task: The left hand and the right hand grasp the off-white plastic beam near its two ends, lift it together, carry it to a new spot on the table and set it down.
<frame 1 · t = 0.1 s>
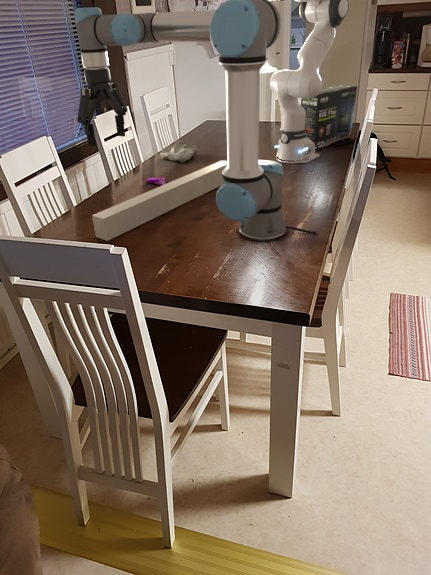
left hand: (107, 140, 148), 28 cm above the table, tool pointing down, fingers open, 13 cm apart
right hand: (246, 53, 179), 48 cm above the table, tool pointing down, fingers open, 8 cm apart
fossil: (178, 158, 230), on the table
beam: (173, 204, 174), on the table
router box: (325, 143, 245), on the table
handgun: (158, 187, 192), on the table
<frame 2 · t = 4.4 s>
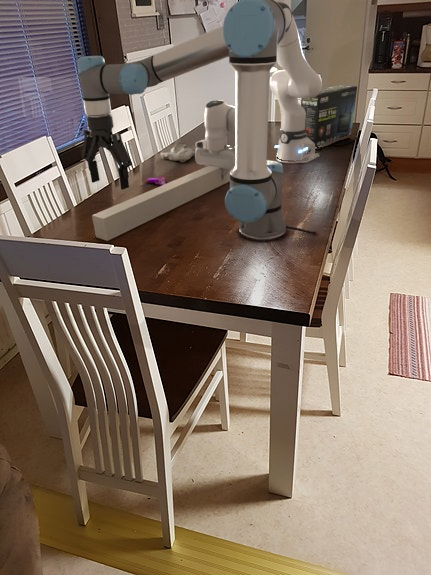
left hand: (110, 184, 146), 16 cm above the table, tool pointing down, fingers open, 13 cm apart
right hand: (217, 177, 192), 3 cm above the table, tool pointing down, fingers closed on beam, 5 cm apart
beam: (173, 204, 174), on the table, touching right hand
everything else where it was.
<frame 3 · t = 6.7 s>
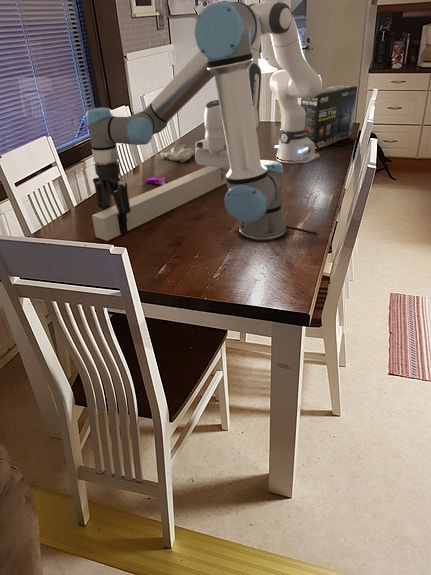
left hand: (117, 230, 154), 1 cm above the table, tool pointing down, fingers closed on beam, 6 cm apart
right hand: (217, 177, 192), 3 cm above the table, tool pointing down, fingers closed on beam, 5 cm apart
beam: (173, 204, 174), on the table, touching left hand, right hand
everything else where it was.
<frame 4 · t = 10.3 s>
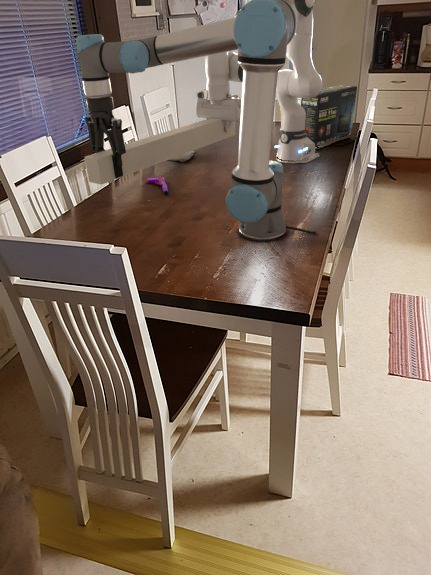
left hand: (112, 175, 143), 20 cm above the table, tool pointing down, fingers closed on beam, 6 cm apart
right hand: (219, 130, 182), 22 cm above the table, tool pointing down, fingers closed on beam, 5 cm apart
beam: (172, 155, 163), point 19 cm above the table, touching left hand, right hand
everything else where it was.
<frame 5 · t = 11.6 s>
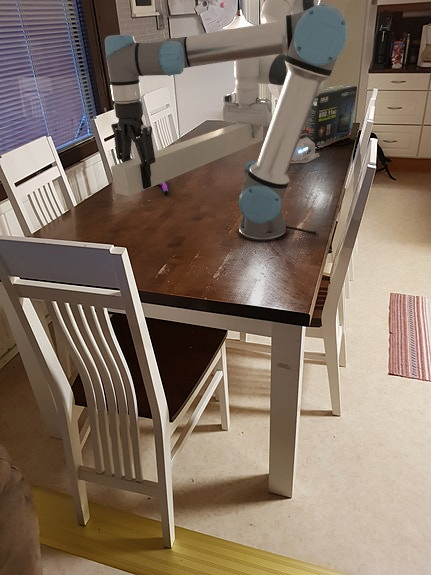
left hand: (139, 185, 133), 20 cm above the table, tool pointing down, fingers closed on beam, 6 cm apart
right hand: (247, 136, 172), 22 cm above the table, tool pointing down, fingers closed on beam, 5 cm apart
beam: (200, 162, 153), point 19 cm above the table, touching left hand, right hand
everything else where it was.
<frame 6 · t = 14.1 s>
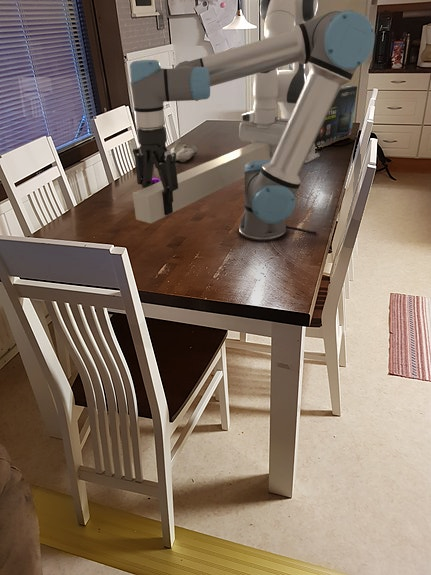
left hand: (160, 211, 130), 14 cm above the table, tool pointing down, fingers closed on beam, 6 cm apart
right hand: (264, 155, 169), 16 cm above the table, tool pointing down, fingers closed on beam, 5 cm apart
beam: (219, 184, 150), point 14 cm above the table, touching left hand, right hand
everything else where it was.
when the left hand's fingers open (2 cm above the table, at t = 16.4 s): beam drops 2 cm, held by the right hand.
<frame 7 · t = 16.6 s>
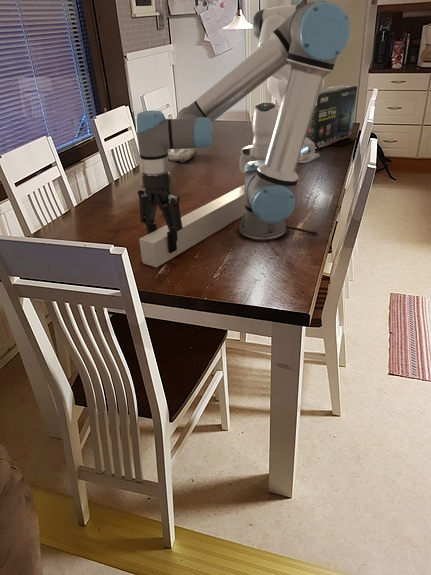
left hand: (163, 248, 136), 3 cm above the table, tool pointing down, fingers open, 7 cm apart
right hand: (264, 187, 175), 4 cm above the table, tool pointing down, fingers closed on beam, 5 cm apart
beam: (220, 223, 157), on the table, touching right hand
everything else where it was.
when the right hand's fingers open (4 cm above the table, at t = 16.7 s): beam stays where it is, on the table.
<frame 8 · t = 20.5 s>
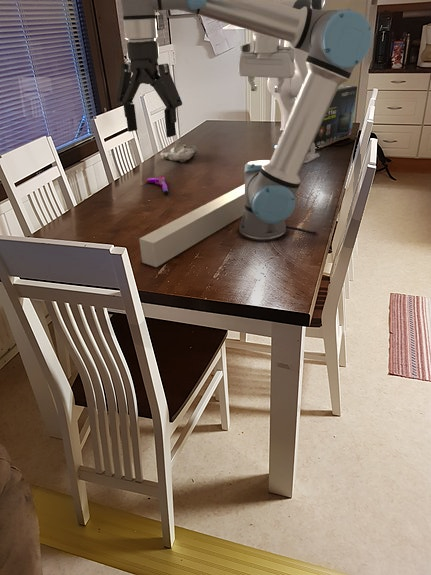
left hand: (151, 133, 119), 36 cm above the table, tool pointing down, fingers open, 13 cm apart
right hand: (265, 91, 157), 38 cm above the table, tool pointing down, fingers open, 8 cm apart
beam: (220, 223, 157), on the table
everything else where it was.
at the end: beam inside the target area (0.4 cm from its centre), on the table; beam tilted 0°; beam never tilted more than 1° during the clip; both hands held the beam at the same time; the left hand is holding nothing; the right hand is holding nothing; beam at rest at the end (0.0 cm/s) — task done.
